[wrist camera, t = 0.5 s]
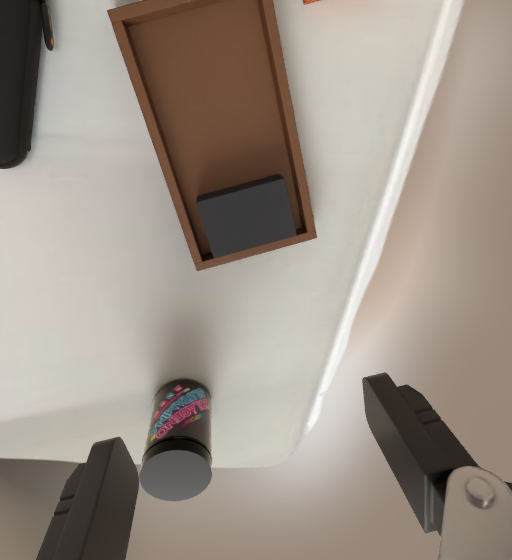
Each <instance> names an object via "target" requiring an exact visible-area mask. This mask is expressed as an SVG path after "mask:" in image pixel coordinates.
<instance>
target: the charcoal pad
mask: <svg viewBox="0 0 512 560" xmlns="http://www.w3.org/2000/svg"><path fill="white" fill-rule="evenodd" d="M196 204H197V207H198V211H199V214H200V217H201V220H202V223H203V226H204V229H205V233H206V236H207V239H208V242H209V245H210V248H211V251H212V255H213V258H218V257H222V256H225V255H229V254H232V253H236V252H240V251H243V250H247V249H250V248H254V247H258V246H261V245H265V244H268V243H272V242H276V241H279V240H283V239H286V238H290V237H294V236H297V233H296V228H295V224H294V219H293V214H292V209H291V205H290V200H289V195H288V190H287V185H286V181H285V178H284V177H283V176H281V175H280V174H276V175H272V176H269V177H265V178H261V179H258V180H254V181H250V182H247V183H243V184H240V185H236V186H232V187H229V188H225V189H221V190H218V191H214V192H211V193H207V194H203V195H200V196H197V200H196Z"/></svg>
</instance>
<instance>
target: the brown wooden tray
mask: <svg viewBox="0 0 512 560" xmlns="http://www.w3.org/2000/svg"><path fill="white" fill-rule="evenodd" d="M107 12H108V15H109V18H110V21H111V23H112V26H113V29H114V32H115V35H116V38H117V41H118V44H119V47H120V50H121V52H122V55H123V58H124V61H125V64H126V67H127V70H128V73H129V76H130V79H131V81H132V84H133V87H134V90H135V93H136V96H137V99H138V102H139V105H140V108H141V110H142V113H143V116H144V119H145V122H146V125H147V128H148V131H149V134H150V137H151V139H152V142H153V145H154V148H155V151H156V154H157V157H158V160H159V163H160V166H161V168H162V171H163V174H164V177H165V180H166V183H167V186H168V189H169V192H170V195H171V197H172V200H173V203H174V206H175V209H176V212H177V215H178V218H179V221H180V224H181V226H182V229H183V232H184V235H185V238H186V241H187V244H188V247H189V250H190V253H191V255H192V258H193V261H194V263H195V267H196V270H197V271H199V270H203V269H207V268H210V267H214V266H217V265H221V264H225V263H228V262H232V261H235V260H239V259H243V258H246V257H250V256H253V255H257V254H261V253H264V252H268V251H271V250H275V249H279V248H282V247H286V246H289V245H293V244H297V243H300V242H304V241H307V240H311V239H315V238H317V235H316V230H315V225H314V219H313V214H312V208H311V203H310V198H309V192H308V187H307V182H306V176H305V171H304V166H303V160H302V155H301V150H300V144H299V139H298V133H297V128H296V123H295V117H294V112H293V107H292V101H291V96H290V91H289V85H288V80H287V75H286V69H285V64H284V58H283V53H282V48H281V42H280V37H279V32H278V26H277V21H276V16H275V10H274V5H273V0H144V1H140V2H136V3H133V4H129V5H125V6H121V7H118V8H114V9H110V10H107ZM276 174H280V175H281V176H283V177H284V178H285V181H286V185H287V190H288V195H289V200H290V205H291V209H292V214H293V219H294V224H295V228H296V233H297V236H294V237H290V238H286V239H283V240H279V241H276V242H272V243H268V244H265V245H261V246H258V247H254V248H250V249H247V250H243V251H240V252H236V253H232V254H229V255H225V256H222V257H218V258H213V255H212V251H211V248H210V245H209V242H208V239H207V236H206V233H205V229H204V226H203V223H202V220H201V217H200V214H199V211H198V207H197V204H196V200H197V196H200V195H203V194H207V193H211V192H214V191H218V190H221V189H225V188H229V187H232V186H236V185H240V184H243V183H247V182H250V181H254V180H258V179H261V178H265V177H269V176H272V175H276Z"/></svg>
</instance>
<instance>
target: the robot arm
mask: <svg viewBox="0 0 512 560" xmlns="http://www.w3.org/2000/svg"><path fill="white" fill-rule="evenodd" d="M362 382H363V393H364V403H365V413H366V417H367V421H368V424H369V427H370V429H371V431H372V433H373V435H374V437H375V439H376V441H377V443H378V445H379V447H380V448H381V450H382V452H383V454H384V456H385V458H386V459H387V462H388V464H389V466H390V468H391V469H392V471H393V473H394V475H395V477H396V479H397V481H398V482H399V484H400V486H401V488H402V490H403V492H404V494H405V496H406V498H407V500H408V502H409V504H410V505H411V507H412V509H413V511H414V513H415V514H416V517H417V518H418V520H419V523H420V524H421V526H422V528H423V530H424V532H425V533H428V532H432V531H436V530H437V531H438V533H439V535H440V536H441V540H440V549H439V557H438V560H512V483H508V482H505V481H503V480H502V479H501V478H499V477H498V476H497V475H495V474H493V473H492V472H490V471H488V470H485V469H482V468H481V467H479V466H478V465H477V463H476V462H475V461H474V460H473V459H472V457H471V456H470V455H469V454H468V452H467V451H466V450H465V448H464V447H463V446H462V445H461V444H460V442H459V441H458V440H457V438H456V437H455V436H454V434H453V433H452V432H451V431H450V430H449V428H448V427H447V426H446V424H445V423H444V422H443V421H442V420H441V418H440V416H439V415H438V414H437V413H436V411H435V410H433V409H432V406H431V405H430V404H429V402H428V401H427V400H426V399H425V397H424V396H423V395H422V394H421V393H419V392H418V391H416V390H415V389H413V388H412V387H410V386H409V385H403V386H399V387H397V386H396V385H395V383H394V382H393V381H392V379H391V378H390V377H389V375H388V374H387V373H381V374H377V375H372V376H368V377H364V378H363V381H362ZM138 488H139V477H138V472H137V468H136V466H135V464H134V462H133V460H132V458H131V456H130V454H129V452H128V450H127V448H126V446H125V444H124V442H123V440H122V439H121V438H120V437H116V438H112V439H108V440H104V441H100V442H96V443H94V444H93V446H92V448H91V451H90V454H89V456H88V459H87V462H86V463H83V464H79V465H78V467H77V468H76V469H75V470H74V472H73V473H72V475H71V476H70V477H69V479H68V480H67V481H66V484H65V486H64V489H63V492H62V494H61V497H60V502H58V505H57V507H56V510H55V512H54V517H52V520H51V522H50V525H49V528H48V530H47V533H46V535H45V538H44V541H43V543H42V546H41V548H40V551H39V553H38V556H37V558H36V560H125V558H126V553H127V548H128V542H129V537H130V531H131V526H132V521H133V516H134V510H135V504H136V499H137V494H138Z"/></svg>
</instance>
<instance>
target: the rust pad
mask: <svg viewBox="0 0 512 560" xmlns="http://www.w3.org/2000/svg"><path fill="white" fill-rule="evenodd" d="M315 1H319V0H303V2H304V4H308V3H312V2H315Z"/></svg>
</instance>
